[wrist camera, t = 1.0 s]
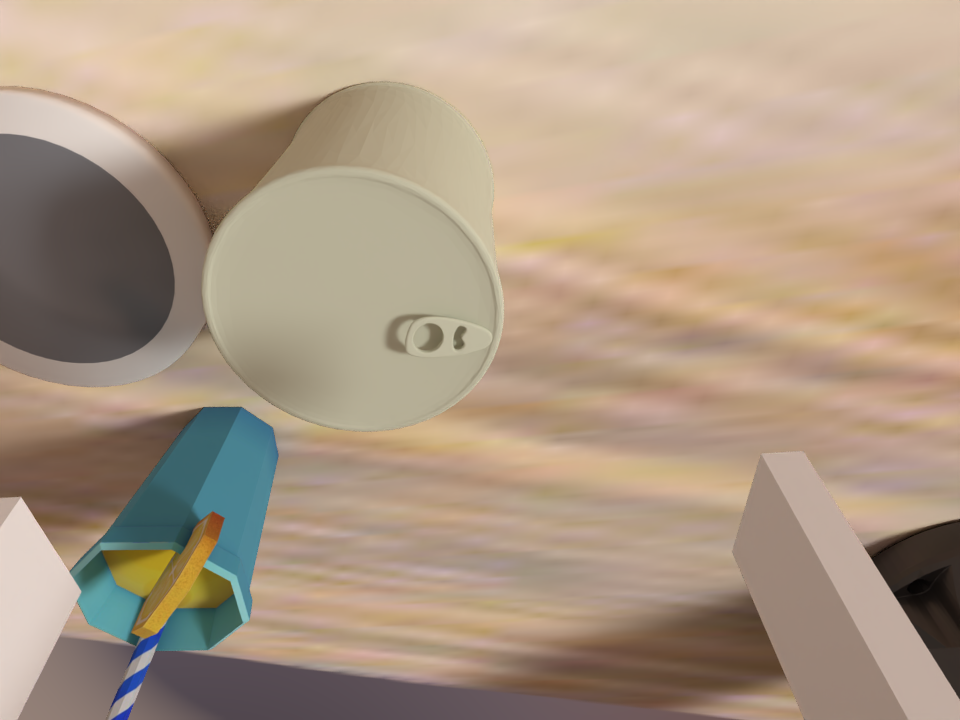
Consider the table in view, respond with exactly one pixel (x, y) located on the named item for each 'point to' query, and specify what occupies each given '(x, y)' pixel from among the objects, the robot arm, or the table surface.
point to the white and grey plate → (92, 246)
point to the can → (362, 265)
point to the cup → (183, 545)
